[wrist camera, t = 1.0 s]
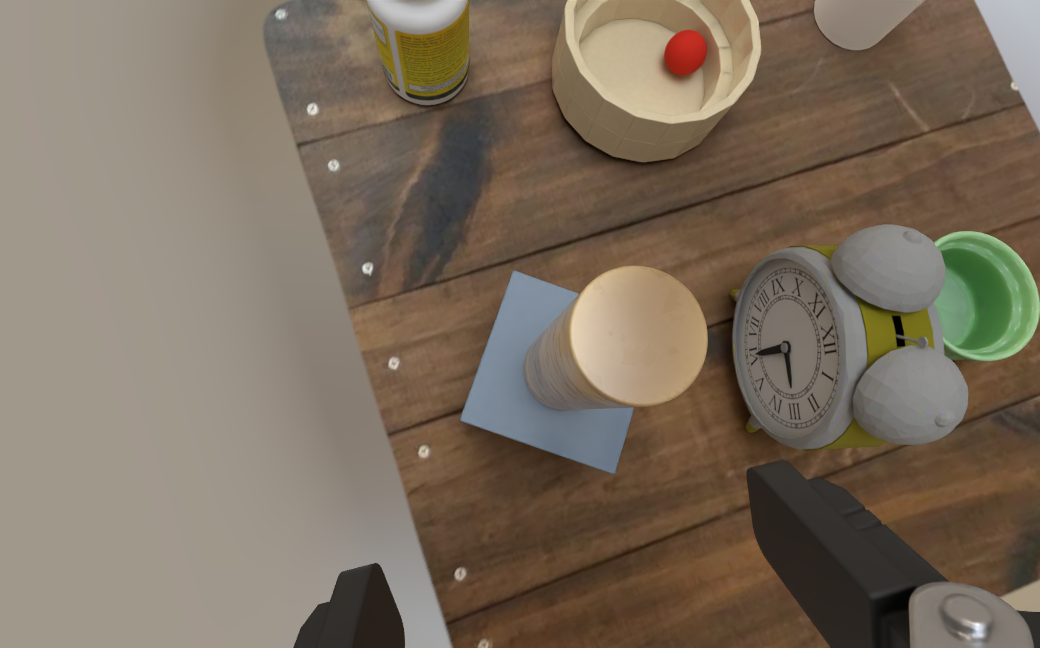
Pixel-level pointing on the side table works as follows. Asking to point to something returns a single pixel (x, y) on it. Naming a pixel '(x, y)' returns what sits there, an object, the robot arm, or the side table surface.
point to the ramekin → (985, 298)
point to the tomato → (685, 52)
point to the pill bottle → (423, 46)
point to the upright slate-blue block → (508, 401)
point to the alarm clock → (847, 344)
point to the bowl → (650, 72)
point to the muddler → (619, 344)
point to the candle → (860, 20)
